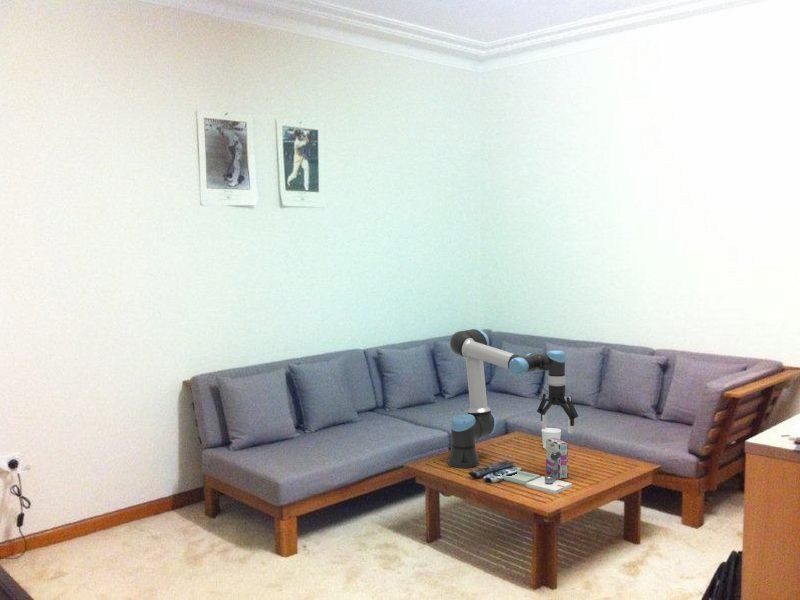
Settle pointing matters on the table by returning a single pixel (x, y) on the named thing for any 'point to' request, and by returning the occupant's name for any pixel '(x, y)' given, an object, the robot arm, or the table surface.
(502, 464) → the table surface
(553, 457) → the crank
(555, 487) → the crank base
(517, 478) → the tray
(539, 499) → the table surface
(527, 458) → the table surface
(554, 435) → the cup
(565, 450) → the candy bar box
